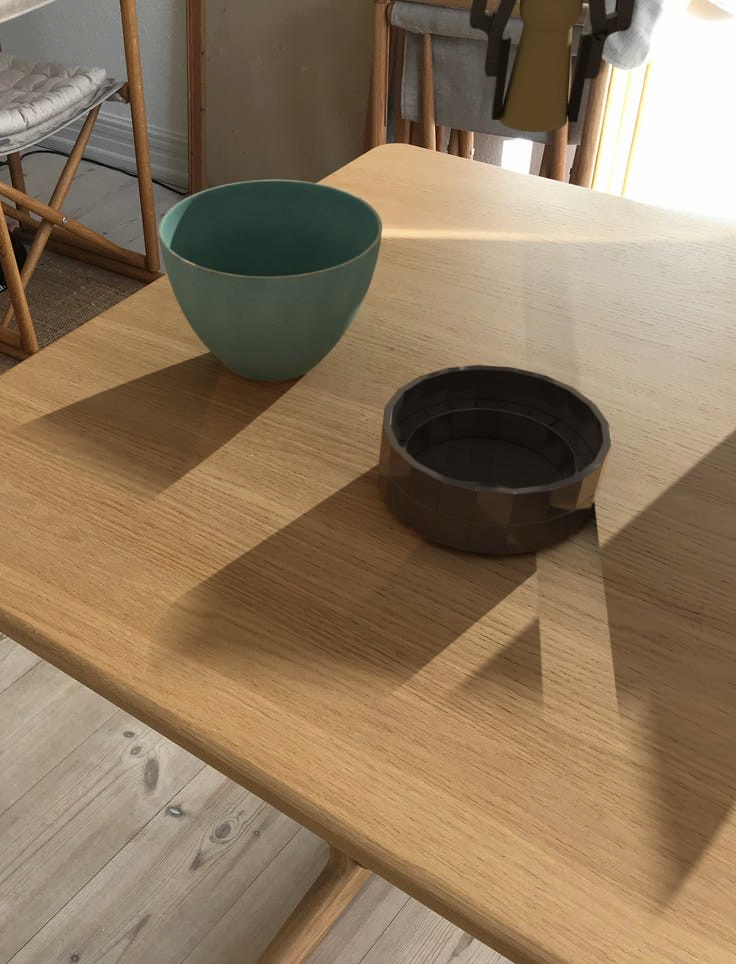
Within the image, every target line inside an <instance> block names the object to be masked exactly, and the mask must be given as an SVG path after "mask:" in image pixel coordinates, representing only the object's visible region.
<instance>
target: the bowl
mask: <svg viewBox="0 0 736 964" xmlns="http://www.w3.org/2000/svg"><path fill="white" fill-rule="evenodd" d="M606 418H607V417H605V415H604V414H603V412H602V411H601V410H600V408H599V407H598V406H597V404H596V403H595V402H593V401H592V400H591V399H589V398H588V397H587V396H586V395H584V394H582V393H581V392H580V391H579V390H578V389H576V388H574V387H573V386H571V385H569V384H567V383H565V382H562V381H559V380H557V379H555V378H553V377H551V376H549V375H546V374H543V373H539V372H534V371H530V370H525V369H521V368H517V367H512V366H500V365H488V364H487V365H485V364H473V365H463V366H461V365H460V366H451V367H445V368H442V369H439V370H435V371H431V372H430V373H426V374H422V375H419V376H417V377H416V378H414V379H412V380H411V381H409V382H407V383H406V384H404V385H403V386H401V387H399V388H398V389H396V391H395V392H394V394H393V395H392V396H391V398H390V399H389V400H388V402H387V403H386V405H384V409H383V418H382V427H381V437H380V448H379V460H378V473H377V485H376V486H377V488H378V491H379V493H380V496H381V498H382V501H383V503H384V505H385V507H386V508H387V509H388V510H389V511H390V512H391V513H392V515H393V516H394V517H395V518H396V519H397V520H398V521H399V522H400V523H401V524H403V526H405V527H406V528H408V529H410V530H412V531H414V532H415V533H417V534H418V535H420V536H422V537H423V538H425V539H427V540H429V541H431V542H433V543H436V544H440V545H443V546H446V547H449V548H453V549H455V550H459V551H464V552H468V553H469V552H470V553H479V554H490V555H504V556H505V555H513V554H522V553H531V552H538V551H540V550H543V549H546V548H549V547H552V546H554V545H557V544H559V543H562V542H565V541H567V540H568V539H569V538H570V537H572V536H573V535H575V533H576V532H577V531H579V530H580V529H582V528H583V527H584V526H585V525H586V524H587V523H588V521H589V518H591V514H592V512H593V510H594V508H595V506H596V503H595V502H596V499H597V497H598V495H599V492H600V488H601V484H602V481H603V477H604V474H605V470H606V467H607V463H608V459H609V455H610V452H611V450H612V445H613V442H612V435H611V430H610V429H611V428H610V423H609V421H608V420H607V419H606Z"/></svg>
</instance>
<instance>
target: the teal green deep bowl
mask: <svg viewBox="0 0 736 964" xmlns="http://www.w3.org/2000/svg"><path fill="white" fill-rule="evenodd" d="M382 232H383V222H382V219H381V217H380V215H379V213H378V212H377V211H376V210H375V208H374V207H373V206H372V205H370V204H369V203H368V202H367V201H365V200H364V199H362V198H361V197H359V196H357V195H355V194H353V193H350V192H349V191H346V190H344V189H340V188H337V187H334V186H330V185H326V184H322V183H316V182H310V181H302V180H295V179H293V180H292V179H291V180H290V179H258V180H257V179H256V180H247V181H239V182H232V183H227V184H223V185H219V186H214V187H211V188H207V189H205V190H202V191H199V192H196V193H194V194H192V195H189V196H188V197H186V198H183V199H182V200H181V201H179V202H177V203H176V204H175V205H173V206H172V207H171V208H169V209H168V210H167V212H165V214H164V215H163V216H162V218H161V220H160V222H159V225H158V235H159V236H158V239H159V244H160V245H159V246H160V249H161V251H160V252H161V255H162V259H163V264H164V267H165V272H166V275H167V278H168V281H169V285H170V286H171V289H172V291H173V294H174V296H175V297H174V298H175V299H176V301H177V304H178V305H179V307H180V309H181V311H182V314H183V315H184V317H185V319H186V321H187V323H188V324H189V326H190V327H191V328H192V330H193V332H194V333H195V335H196V336H197V338H199V340H200V341H201V342H202V344H203V345H204V346H205V347H206V348H207V349H208V350H209V351H210V352H211V353H212V354H213V355H214V356H215V358H216V359H218V361H220V362H221V363H222V364H223V365H224V366H225V367H226V368H227V369H229V370H230V371H231V372H233V373H235V374H236V375H238V376H240V377H243V378H245V379H249V380H252V381H256V382H257V381H258V382H266V383H267V382H269V383H271V382H272V383H273V382H285V381H289V380H293V379H297V378H300V377H301V376H304V375H305V374H307V373H309V372H310V371H311V370H313V369H314V368H315V367H316V366H318V365H319V364H320V363H321V362H322V361H323V360H324V359H325V358H326V357H327V356H328V355H329V354H330V353H331V351H333V350H334V348H335V347H336V346H337V345H338V344H339V342H340V341H341V340H342V338H343V337H344V336H345V335H346V333H347V332H348V330H349V328H350V327H351V325H352V324H353V322H354V321H355V319H356V317H357V315H358V314H359V312H360V309H361V307H362V305H363V303H364V301H365V299H366V296H367V294H368V291H369V288H370V285H371V283H372V280H373V276H374V273H375V270H376V265H377V262H378V258H379V254H380V248H381V241H382Z"/></svg>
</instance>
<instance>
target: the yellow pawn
mask: <svg viewBox="0 0 736 964" xmlns="http://www.w3.org/2000/svg"><path fill="white" fill-rule="evenodd" d="M583 6H584V0H519V7H518V9H519V16H520V19H521V22H522V23H523V25H522V29H521V33H520V37H519V41H518V45H517V47H516V48H517V49H516V51H515V56H514V60H513V64H512V68H511V71H510V75H509V79H508V83H507V87H506V91H505V93H504V97H503V104H502V112H501V119H500V120H499V122H500V123H501V124H502V125H504V126H505V127H507V128H510V129H512V130H517V131H520V132H526V133H527V132H529V133H546V132H553V131H557V130H559V129H562V128H564V127H565V126H566V125H567V123H568V102H569V96H570V77H571V59H572V58H571V57H572V40H573V37H572V36H573V26H574V25H575V24H576V22H577V21H578V20H579V18H580V16H581V13H582V11H583Z"/></svg>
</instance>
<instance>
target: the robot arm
mask: <svg viewBox="0 0 736 964" xmlns="http://www.w3.org/2000/svg"><path fill="white" fill-rule="evenodd" d="M517 2H518V0H497V2H496V4H495V6H494V8H493V9H494V10H493V11H489V10H487V5H488V0H471V4H470V9H469V18H468V19H469V21H468V22H469V26H470V28H472V29H474V30H479V31H482V32H484V33H485V34H486V36H487V43H486V51H485V58H484V59H485V60H484V73H485V77H489V78H490V77H491V78H494V77H495V82H494V89H493V95H492V97H493V98H492V106H491V120H492V121H500V119H501V112H502V106H503V102H504V98H505V90H506V89H505V88H506V82H507V73H508V67H509V66H508V65H509V60H510V59H509V58H510V52H511V45H512V30H510V29H506V27H507V25H508V23H509V20H510V18H511V15H512V13H513V11H514V8H515V6H516V4H517ZM587 2H588V4H587V5H588V11H589V12H588V13H589V21H590V30H589V31H580V35H579V39H578V45H577V53H576V57H575V63H574V69H573V74H572V80H571V86H570V90H569V97H568V116H567V123H578V119H579V113H580V109H581V103H582V98H583V92H584V87H585V82H586V81H585V80H596V79H597V77H598V75H599V74H600V69H601V66H602V65H601V64H602V60H603V59H602V58H603V54H604V48H605V43H606V40H607V39H608V37H609V36H611V35H613V34H615V33H618V32H626V31H627V30H629V29H630V27H631V25H632V21H633V16H634V15H633V14H634V7H635V0H615V4H614V11H613V12H610V13H607V9H606V8H607V7H606V0H587Z"/></svg>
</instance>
